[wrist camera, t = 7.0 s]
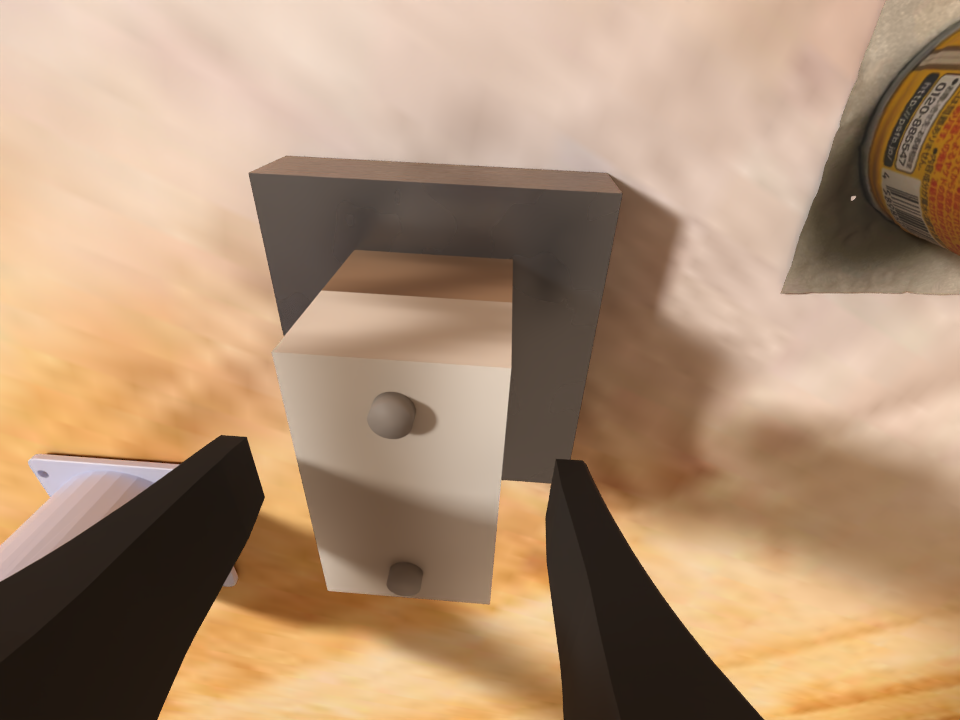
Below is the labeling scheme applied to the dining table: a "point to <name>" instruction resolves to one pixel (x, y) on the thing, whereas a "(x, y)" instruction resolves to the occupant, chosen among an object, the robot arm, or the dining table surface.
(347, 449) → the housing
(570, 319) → the stand
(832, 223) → the condiment
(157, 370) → the dining table surface
